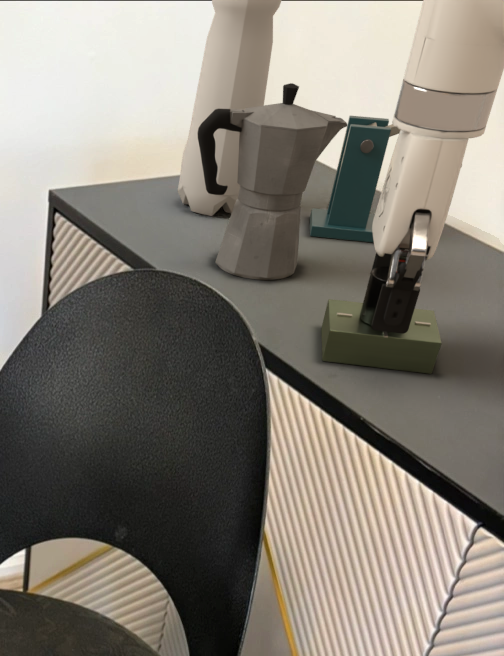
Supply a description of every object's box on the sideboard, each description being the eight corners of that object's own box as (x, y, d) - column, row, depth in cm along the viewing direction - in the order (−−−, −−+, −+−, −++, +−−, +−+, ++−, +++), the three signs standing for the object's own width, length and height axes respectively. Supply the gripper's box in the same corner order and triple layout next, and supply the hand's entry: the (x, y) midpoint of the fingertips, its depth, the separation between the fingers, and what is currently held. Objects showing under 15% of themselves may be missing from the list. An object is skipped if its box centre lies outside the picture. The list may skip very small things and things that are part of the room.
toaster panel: (424, 339, 109) (434, 307, 107) (431, 375, 103) (442, 342, 101) (321, 327, 111) (328, 296, 109) (322, 362, 105) (330, 329, 103)
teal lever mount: (376, 224, 136) (404, 118, 128) (379, 243, 131) (408, 133, 123) (309, 218, 137) (333, 111, 129) (309, 236, 132) (334, 126, 124)
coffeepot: (302, 251, 128) (341, 74, 116) (326, 281, 121) (370, 96, 109) (169, 250, 127) (196, 71, 115) (186, 280, 120) (215, 93, 108)
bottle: (260, 217, 137) (318, -82, 117) (191, 220, 135) (238, -83, 115) (231, 194, 143) (281, -92, 123) (165, 197, 142) (205, -93, 122)
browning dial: (358, 308, 107) (371, 260, 104) (405, 313, 106) (419, 265, 103) (360, 325, 104) (373, 276, 101) (408, 331, 103) (423, 282, 100)
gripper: (391, 82, 100) (342, 275, 111) (403, 130, 87) (347, 342, 99) (477, 89, 99) (419, 283, 110) (503, 139, 86) (435, 352, 98)
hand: (385, 311), depth 105 cm, fingers open, 9 cm apart
